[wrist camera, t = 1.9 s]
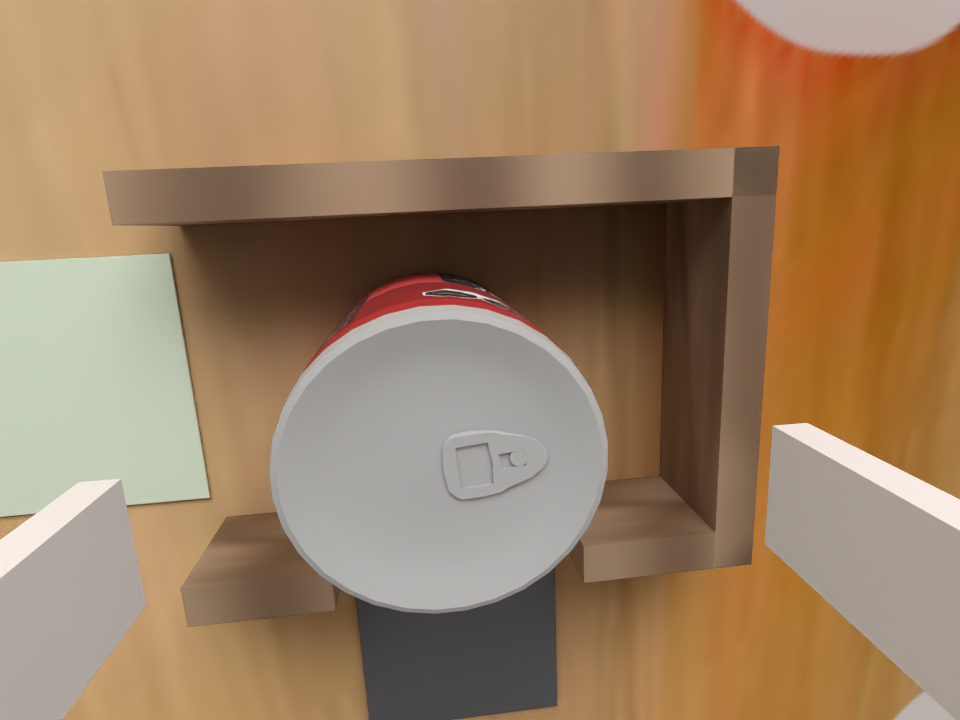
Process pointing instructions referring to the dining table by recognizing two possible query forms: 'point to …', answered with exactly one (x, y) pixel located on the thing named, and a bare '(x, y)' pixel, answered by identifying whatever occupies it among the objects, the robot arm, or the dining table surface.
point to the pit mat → (461, 658)
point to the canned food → (437, 450)
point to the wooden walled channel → (686, 341)
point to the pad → (95, 382)
